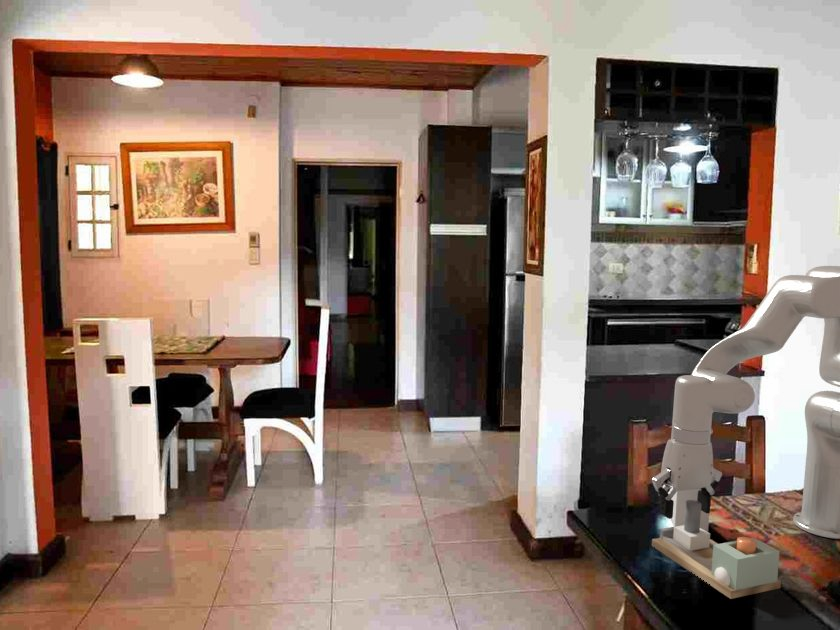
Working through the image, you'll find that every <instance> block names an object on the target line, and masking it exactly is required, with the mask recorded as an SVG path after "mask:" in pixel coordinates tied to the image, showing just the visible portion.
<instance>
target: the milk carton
mask: <svg viewBox="0 0 840 630" xmlns="http://www.w3.org/2000/svg"><path fill="white" fill-rule="evenodd" d="M671 485H673V484H671ZM698 490H701V489H700V488H699V489H692V490H683V491H677V492H676V493H675V495H674V496H673V497H672V499H671V500H673V501H674V505H673V517H672V519H670V521H671V523H672V527H675V526H681V525H684V524H685V507H686V501H687V500H695V501H697V497H698ZM709 520H710V513H705V512H703V511H701V517H700V528H701V529H703V530H705V531H706V532H708V533H709V523H710V521H709Z"/></svg>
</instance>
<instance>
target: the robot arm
mask: <svg viewBox="0 0 840 630" xmlns="http://www.w3.org/2000/svg"><path fill="white" fill-rule="evenodd" d="M805 317H807V318H808V317H810V318H817V319H823V321H824V326H823V327H824V328H823V329H824V330H823V336H822V337H823V338H822V345H821V351H820V359H819V365H818V366H819V367H818V368H819V376H820V378H821V379H822V380H823V381H824V382H825V383H827V384H829V385H832V386H835V387H838V388H840V265H820V266H815V267H813V268H811V269H809V270H808V271H807V272H806V274H805V275H802V274H787V275H784V276H781V277H780V278H778V279H777V280H776V281H775V282H774V283H773V284H772V286H771V288H770V289H769V291H768V292H767V293H766V295H765V296H764V298H763V299H762V301H761V302H760V303H759V305H758V306H757V308H756V309H755V311H754V312H753V314H752V315H751V316H750V318H749V319H748V321H747V322H746V323H745V325H744V326H743V327H741V328H740V329H739V330H737V331H735V332H733V333H731V334H730V335H728V336H726V337H725V338H724V339H722V340H720V341H718V342H717V343H716V344H715V345H713V346H712V347H710V348H709V349H708V350H707V351H706V352H705V353H704V355H703V356H702V358H700V360H699V361H698V363H697V365H696V366H695V367H694V368H693V370H692V372H691V374H690V375H689V374H687V375H686V374H684V375H680V376H678V377H677V378H676V379H675V384H674V395H673V411H672V421H671V423H672V424H671V435H670V438H669V439H668V440H667V442H666V444H665V448H664V451H663V457H662V461H661V462H662V463H661V469H660V470H661V472H659V473H658V474H657V475H655V476H654V477H652V479H651V482H652V485H653V487H654V490H655V492H656V493H657V494H658V496H659V497H660V505H659V514H660V515H662V516H664V517H665V518H667V519H669V520H671V519H672V517H673V505H674V501H673V500H671V499H672V497H673V496H674V495H675V493H676V492H677V491H683V490H692V489H699V488H700V489H701V490H698V497H697V501H698V502H700V503H701V511H703V512H705V513H709V514H710V513H711V505H712V504H711V503H712V501H711V500H712V496H714V494H715V490H716V489H717V487H718V486H719V482H720V480H721V479H722V476H723V473H722V471H720V470H717V469H716V468H715V467H714V454H713V453H714V452H713V445H712V442H711V435H713V433H714V430H713V428H712V419H713V413H714V412H717V413H724V414H742V413H744V412H746V411H748V410H749V409H750V408H751V407H752V406H753V404H754V402H755V398H756V393H755V390H754V388H753V386H752V385H751V384H750V383H749V382H747V381H746V380H744V379H742V378H740V377H736V376H734V375H733V376H732V375H730V374H728V372H730V370H731V369H733V368H734V367H735V366H737V365H738V364H740V363H742V362H744V361H746V360H749V359H753V358H757V357H763V356H766V355H770V354H773V353H776V352H779V351H780V350H782V349H783V348H784V346H785V344H786V343H787V342H788V340H789V339H790V337H791V336H792V334H793V333H794V332H795V330H796V328H797V327H798V326H799V324H801V321H802V320H803V319H804V318H805ZM804 420H805V421H804V422H805V427H806V434H807V435H806V436H807V438H806V440H807V441H806V442H807V443H806V456H805V466H804V479H803V488H802V492H803V493H802V500H801V501H802V504H801V511H800V512H795V514H794V515H793V516H792V520H793V523H794V525H795V526H797V527H798V528H800V529H801V530H803V531H805V532H807V533H809V534H811V535H812V534H813V535H815V536H819V537H823V538H829V539H836V540H837V539H838V540H840V392H839V391H833V390H821V391H817V392H814V393H813V394H812V395H810V397H809V398H808V399H807V401H806V402H805V406H804ZM672 484H673V485H672ZM668 490H669V491H668Z"/></svg>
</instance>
